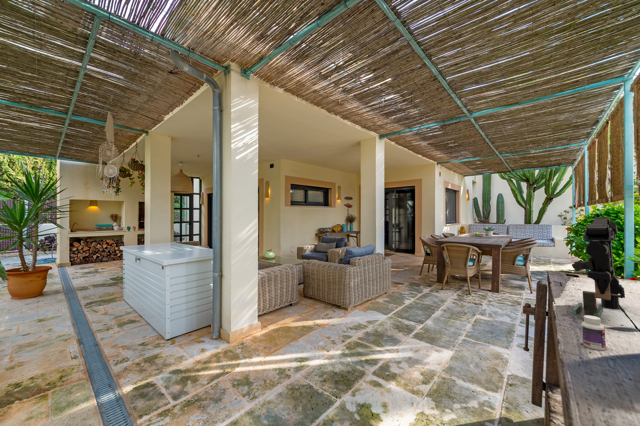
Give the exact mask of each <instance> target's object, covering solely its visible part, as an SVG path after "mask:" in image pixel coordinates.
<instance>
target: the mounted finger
mask: <svg viewBox="0 0 640 426" xmlns="http://www.w3.org/2000/svg"><path fill="white" fill-rule="evenodd" d="M582 302H583V303H582V304H583V307H584V309H586V310H592V311H596V309H597V308H598V306H597V305H598V304H597V298H596V293H595V291H590V290H589V291H588V290H583V291H582Z"/></svg>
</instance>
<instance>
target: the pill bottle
mask: <svg viewBox="0 0 640 426" xmlns="http://www.w3.org/2000/svg"><path fill="white" fill-rule="evenodd" d="M583 320H584V321H581V323H580V324H581V327H580V328H581V337H582V338H581V339H582V345H583V346H584V347H586V348H589V349H591V350H597V351H605V350H607V346H606V345H607V344H606V334H605V333H606V332H605V331H606V330H605V326H604V325H602V320H601V318H600V317H595V316H589V315H585V316H583Z"/></svg>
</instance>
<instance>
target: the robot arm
mask: <svg viewBox="0 0 640 426" xmlns="http://www.w3.org/2000/svg"><path fill="white" fill-rule="evenodd" d="M583 232H584V233H583V234H584V235H583V236H584V238H583V239H584V240H583V242H586V243H589V244H587V246H586V249H585V252H586V253H587V254H588V255H589V258H587V259H588V260H586V261H585V260H584V261H581V260H578V261H574V263H572V264H571V265H572V268H573V269H574V271H575V272H580V271H585V270H589V271H587V272H586V276H587V278H590V279H591V280H593V281H594V283H595V282H596V284H597V286H598V289H599V291H600V294H605V292H606V290H607V287H608V285H609V283H610V295H611V299H610V300H606V299H600V301H601V302H600V303H601V305H600V306H603V309H608V310H609V309H610V310H620V300H619V299H625V298H626V294H625V293H626V292H625V287H623V286H622V284H620V281H619V279H618V277H617V276H615V269H614V262H613V261H614V260H613V248H612V243H613V242H614V241H615V239H616V235H618V227H617V223H616V221H615V222H614V221H612V220H611V219H610V217H607V216H599V217H598V216H597V217H594V218H593V221H592V222H591V223H590V224H587V225H586V227H584V231H583Z"/></svg>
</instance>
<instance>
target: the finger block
mask: <svg viewBox="0 0 640 426" xmlns="http://www.w3.org/2000/svg"><path fill="white" fill-rule="evenodd" d="M594 289H595V291H594V292H595V293H596V299H599V300H601V299H606V300H610V299H611V295H610V283H609V285H608V287H607V290H606V292H605V294H600V291H599V289H598V286H597V284H596V282H595V281H594Z"/></svg>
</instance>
